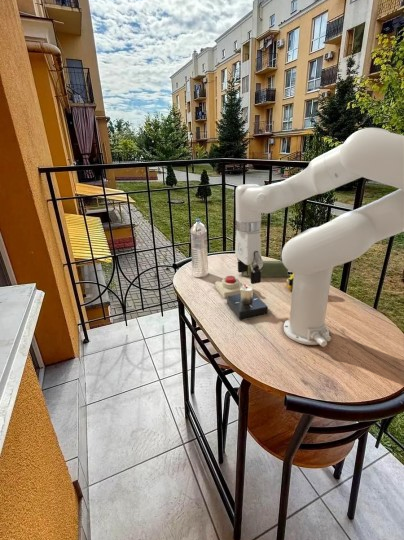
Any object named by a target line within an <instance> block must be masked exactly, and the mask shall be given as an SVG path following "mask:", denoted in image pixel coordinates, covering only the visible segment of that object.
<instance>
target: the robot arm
mask: <svg viewBox="0 0 404 540" xmlns="http://www.w3.org/2000/svg"><path fill="white" fill-rule="evenodd" d="M361 178H364V179H366V180H369V181H373V182H376V183H380V184H383V185H386V186H390V187H393V188H397V189H396V190H394V191H392V192H390V193H388V194H386V195H384V196H382V197H380V198H378V199H376V200H373V201H372V202H370V203H367V204H365V205H363V206H360V207H358V208H356V209H353V210H349V211H347V212H344V213H342V214H340V215H339V216H337V217H335V218H333V219H331V220H329V221H328V222H325V223H323V224H321V225H319V226H314V227H310V228H308V229H306V230H304V231H302V232H300V233H298V234H297V235H295V236H293V237H292V238H290V239H289V240H288V241H287V242H286V243H285V244H284V245H283V247H282V250H281V261H282V262H283V264H284V266H285V267H286V268H287V269H288V272H292V273H294V278H293V288H292V291H291V301H290V313H289V318H288V319H287V320H285V321H284V324H283V331H284V333H285V335H286V336H287V337H288V338H289V339H291V340H292V341H294V342H296V343H299V344H301V345H302V344H303V345H308V346H316V345H319V346H320V347H322V348H324V347H326V346H327V345H328V342H330V341H331V340H332V337H331V336H330V331H329V328H328V326H327V325H326V324H325V322H326V315H327V310H328V303H329V293H330V288H331V282H332V275H333V270H334V268H336V267H337V266H341V265H344V264H347V263H349V262H351V261H354V260H356V259H358V258H360V257H361V256H363V255H364V254H365V253H366V252H367V251H368V250H369V249H370V248H371V247H373V245H375V244H377V243H378V242H380V241H383V240H385V239H388V238H391V237H393V236H396V235H398V234H402V233H403V232H404V135H403V134H399V133H395V132H391V131H389V130H387V129H385V128H380V127H364V128H361V129H359V130H357V131H354V132H353V133H352V134H350V135H349V136H348V137H347V138H346V140H344V141H343V143H342V144H339V145H338V146H336V147H334V148H333V149H331V150H328V151H327V152H324V153H322V154H320V155H318V156H316V157H315V158H313V159H312V160H310V162H309V163H308V166H307V167H306V168H304V169H303V170H301V171H299V172H298V173H296V174H294V175H292V176H290V177H288V178H286V179H284V180H282V181H278V182H274V183H269V184H267V185H261V186H260V185H259V184H258V183H257V184H256V183H245V184H244V183H243V184H239V185H238V186H236V187H235V224H236V225H235V231H236V233H235V247H234V248H235V249H234V253H235V257H236V259H237V273H239V274H241V272H246V271H247V265H249V264H250V267H251V270H252V272H251V276H250V284H251V285H255V284H256V285H257V284H259V283H261V281H262V277H261V271H262V268H263V267H262V266H263V263H264V262H263V261H264V260H263V258H262V236H261V231H262V214H272V213H275V212H277V211H281V210H282V209H285V208H288V207H291V206H292V205H295V204H297V203H299V202H302V201H304V200H306V199H309V198H311V197H314V196H317V195H322V194H325V193H328V192H330V191H332V190H335V189H337V188H340V187H341V186H345V185H347V184H349V183H351V182H355V181H356V180H358V179H359V180H360V179H361ZM252 261H256V262H252ZM255 264H257V266H256V267H255V268H254V266H253V265H255Z"/></svg>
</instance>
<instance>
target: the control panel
mask: <svg viewBox="0 0 404 540" xmlns="http://www.w3.org/2000/svg"><path fill="white" fill-rule="evenodd" d="M226 305H227V306H228V307H229V308H230V310H231V311H232V313H233V314H234V315H235V317H236V318H237V319H238V321H243V320H247V319H252V318H257V317H258V318H259V317H261V316H267V315H268V309H269V307H268V305H267V304H266V303H265V302H264V301H263V300H262V299H261V298H260V297H259V296H258V295H257V294H256V293H255V292H254V291H253V302H252V303H251V304H243V303H242V302H241V294H237V295H231V296H227V298H226Z"/></svg>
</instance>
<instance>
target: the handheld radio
mask: <svg viewBox="0 0 404 540" xmlns="http://www.w3.org/2000/svg"><path fill="white" fill-rule="evenodd" d="M252 262H256V261H252ZM263 262H264V263H263V266H262V267H263V268H262V271H261V278H262V277H271V278H273V277H274V278H276V277H277V278H279V277H280V278H283V277H285V278H287V277H291V275H292V274H293V273H292V272H291V271H289V270H288V269H287V268H286V267H285V266H284V264H283V262H282V260H263ZM253 266H254V268H255V267H256V266H257V264H255V265H253ZM251 272H252V270H251V267H250V264H249V265H247V271H246V272H240V275H241V277H251Z"/></svg>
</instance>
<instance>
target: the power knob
mask: <svg viewBox="0 0 404 540" xmlns="http://www.w3.org/2000/svg"><path fill="white" fill-rule="evenodd" d="M253 292H254V286H251V285H247V284H243V286H242V287H241V302H242V303H243V304H251V303H252V302H253Z"/></svg>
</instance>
